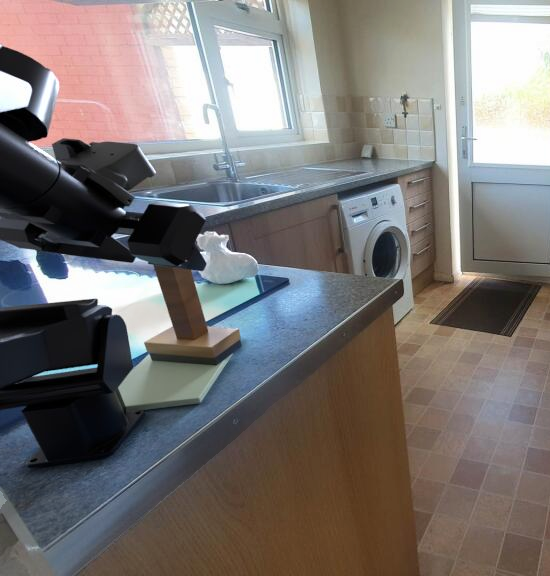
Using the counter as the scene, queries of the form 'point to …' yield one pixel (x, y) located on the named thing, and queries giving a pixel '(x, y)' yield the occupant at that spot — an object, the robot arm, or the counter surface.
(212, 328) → the brush
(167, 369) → the board
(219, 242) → the white curved figure
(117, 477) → the counter surface
